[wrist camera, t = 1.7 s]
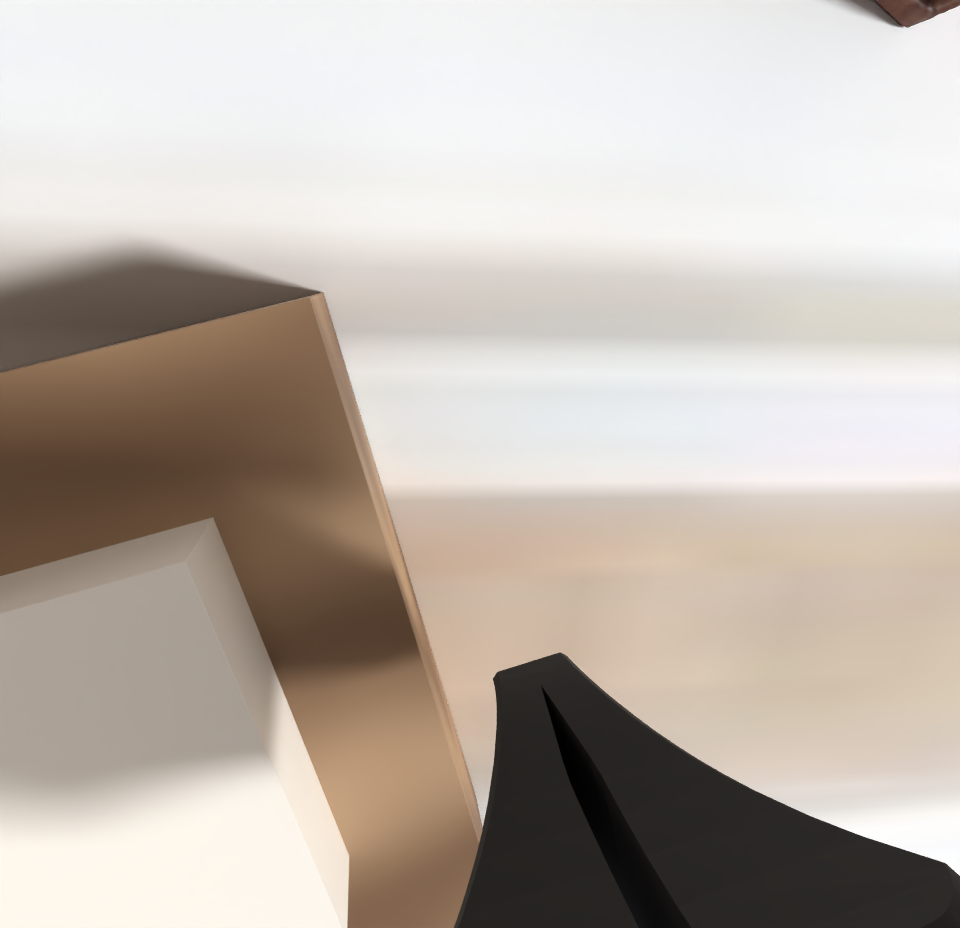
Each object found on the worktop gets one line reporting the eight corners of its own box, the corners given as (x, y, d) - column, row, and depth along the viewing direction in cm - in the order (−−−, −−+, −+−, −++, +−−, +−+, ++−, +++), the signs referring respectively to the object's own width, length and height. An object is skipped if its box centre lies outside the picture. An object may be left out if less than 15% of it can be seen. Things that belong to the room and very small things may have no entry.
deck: (475, 796, 20) (501, 915, 16) (94, 923, 19) (27, 1083, 15) (322, 292, 15) (309, 297, 11) (-209, 423, 14) (-421, 477, 10)
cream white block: (349, 856, 15) (346, 939, 13) (92, 942, 14) (51, 1042, 13) (213, 517, 12) (185, 561, 10) (-113, 607, 12) (-207, 671, 10)
